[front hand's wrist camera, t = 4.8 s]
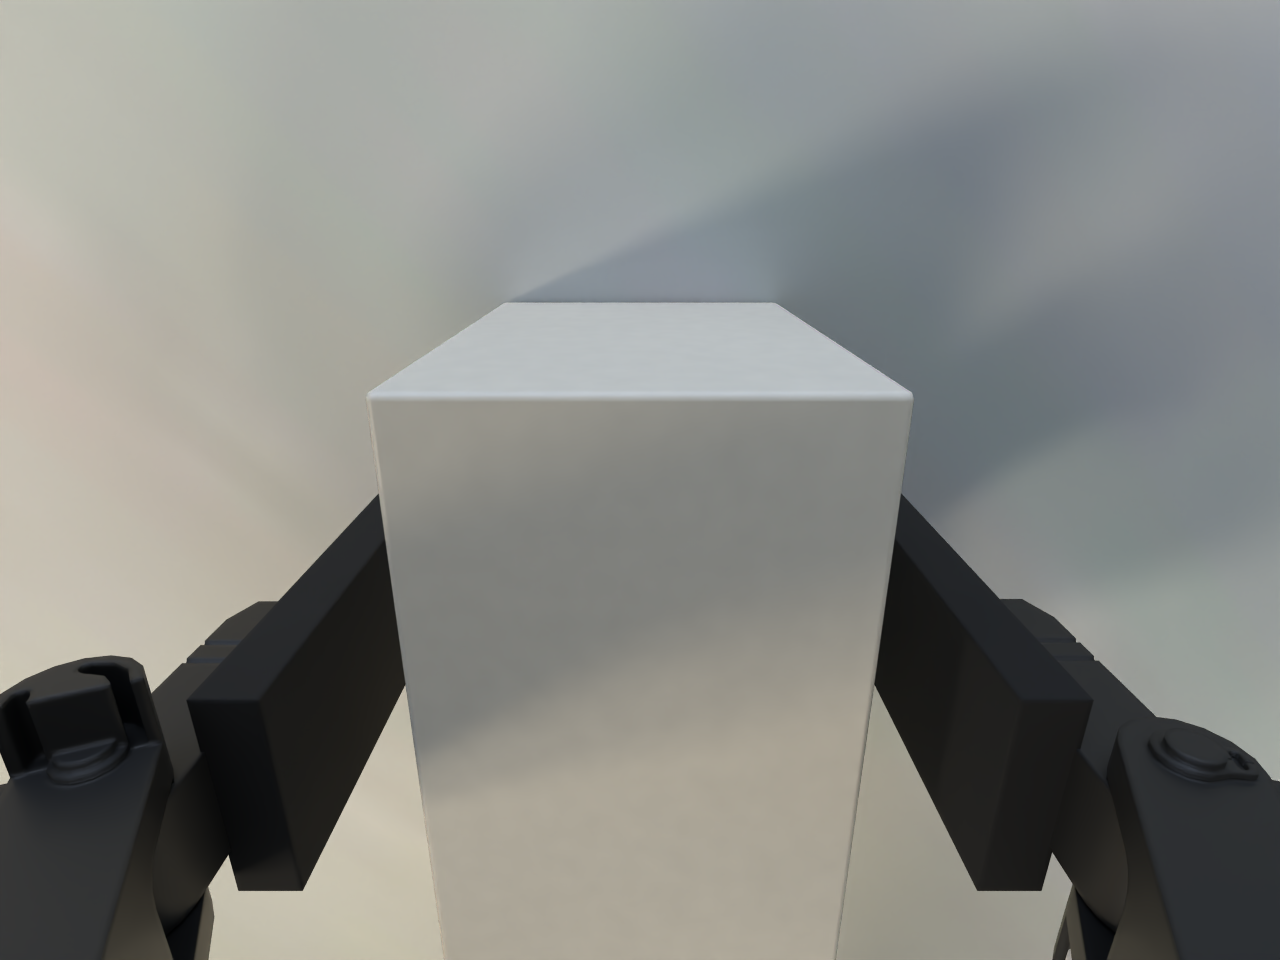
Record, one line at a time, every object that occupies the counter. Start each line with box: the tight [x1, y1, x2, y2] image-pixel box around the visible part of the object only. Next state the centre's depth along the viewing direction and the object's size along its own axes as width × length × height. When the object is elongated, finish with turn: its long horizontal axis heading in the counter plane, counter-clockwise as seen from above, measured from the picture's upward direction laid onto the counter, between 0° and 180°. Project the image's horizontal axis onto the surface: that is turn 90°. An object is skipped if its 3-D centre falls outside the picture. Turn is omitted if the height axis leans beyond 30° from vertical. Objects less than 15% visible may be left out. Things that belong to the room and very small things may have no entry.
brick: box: [366, 303, 914, 960], centre depth 11 cm, size 9×5×7 cm, turn 0°
